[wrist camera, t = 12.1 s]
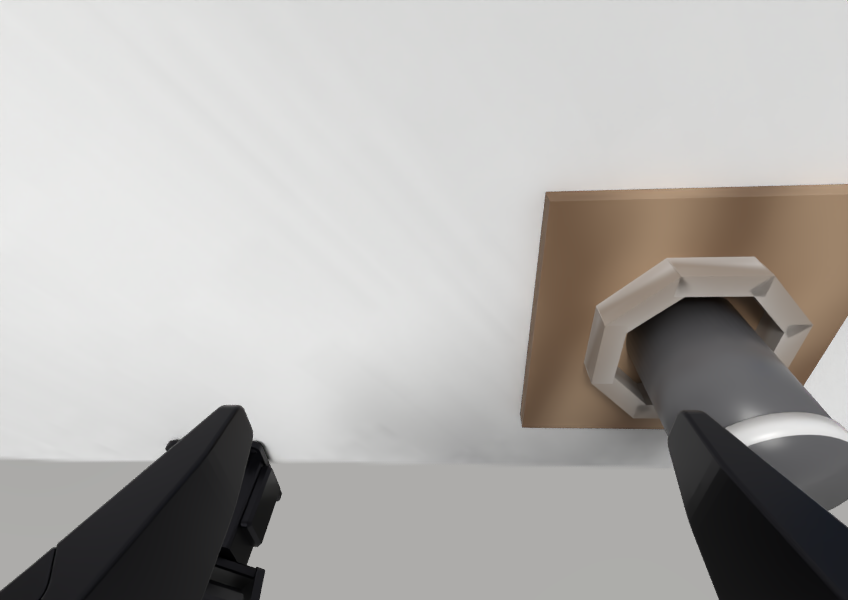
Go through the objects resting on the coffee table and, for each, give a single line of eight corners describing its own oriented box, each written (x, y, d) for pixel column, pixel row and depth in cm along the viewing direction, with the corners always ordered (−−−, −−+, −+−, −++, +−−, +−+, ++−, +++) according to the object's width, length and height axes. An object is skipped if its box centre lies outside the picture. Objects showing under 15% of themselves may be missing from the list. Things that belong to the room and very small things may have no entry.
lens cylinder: (614, 373, 23) (678, 526, 17) (636, 290, 20) (725, 437, 14) (719, 373, 23) (826, 529, 16) (758, 288, 20) (908, 438, 13)
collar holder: (520, 413, 27) (525, 449, 25) (545, 192, 19) (557, 217, 17) (765, 416, 26) (791, 453, 24) (904, 182, 18) (961, 209, 16)
